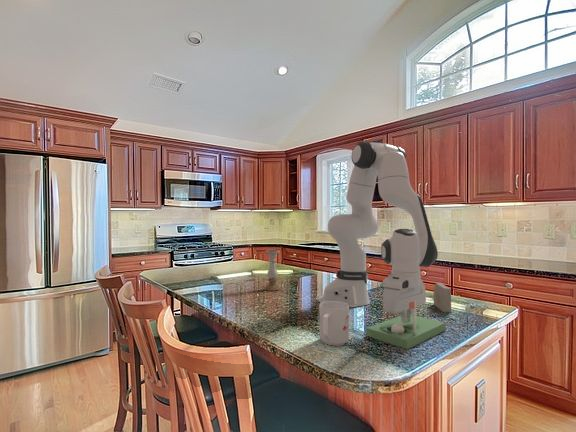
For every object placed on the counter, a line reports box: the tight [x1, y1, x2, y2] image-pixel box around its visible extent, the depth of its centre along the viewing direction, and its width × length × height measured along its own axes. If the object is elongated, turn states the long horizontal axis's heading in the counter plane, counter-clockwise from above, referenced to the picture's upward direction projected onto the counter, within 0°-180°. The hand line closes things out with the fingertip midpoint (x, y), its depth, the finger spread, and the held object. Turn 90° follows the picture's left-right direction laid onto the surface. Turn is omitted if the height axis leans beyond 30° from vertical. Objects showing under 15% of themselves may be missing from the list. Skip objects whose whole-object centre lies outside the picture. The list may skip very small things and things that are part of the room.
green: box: [366, 301, 446, 350], centre depth 107 cm, size 24×14×12 cm, turn 130°
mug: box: [318, 301, 350, 347], centre depth 98 cm, size 12×9×11 cm
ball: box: [391, 324, 405, 333], centre depth 103 cm, size 4×4×4 cm
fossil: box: [432, 282, 452, 313], centre depth 136 cm, size 12×4×10 cm, turn 173°
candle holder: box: [263, 249, 282, 292], centre depth 172 cm, size 9×9×20 cm
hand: (405, 322), depth 106 cm, fingers closed
